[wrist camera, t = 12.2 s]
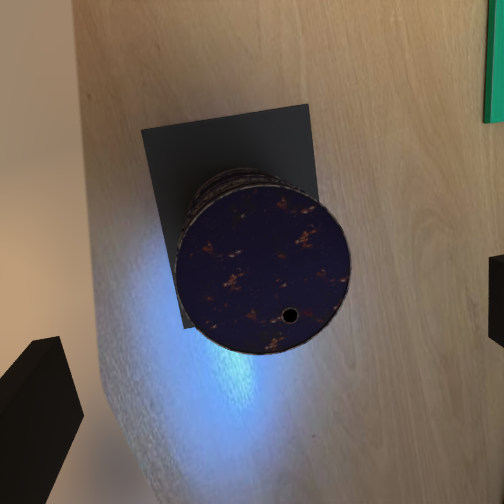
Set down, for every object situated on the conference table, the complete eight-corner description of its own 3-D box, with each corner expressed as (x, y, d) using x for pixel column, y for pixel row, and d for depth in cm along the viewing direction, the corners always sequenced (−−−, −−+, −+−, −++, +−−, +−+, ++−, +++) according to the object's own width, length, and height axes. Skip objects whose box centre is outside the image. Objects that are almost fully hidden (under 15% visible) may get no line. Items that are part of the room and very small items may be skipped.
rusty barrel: (163, 203, 36) (133, 245, 21) (262, 143, 35) (299, 144, 21) (224, 295, 38) (234, 387, 24) (317, 240, 38) (383, 301, 24)
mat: (141, 130, 34) (140, 130, 34) (308, 103, 35) (308, 103, 35) (184, 328, 39) (183, 329, 39) (330, 301, 40) (330, 302, 40)
